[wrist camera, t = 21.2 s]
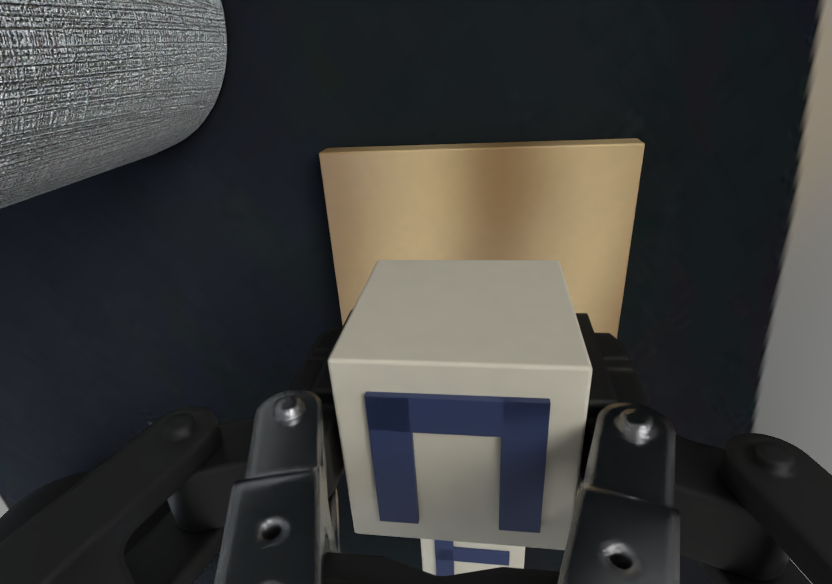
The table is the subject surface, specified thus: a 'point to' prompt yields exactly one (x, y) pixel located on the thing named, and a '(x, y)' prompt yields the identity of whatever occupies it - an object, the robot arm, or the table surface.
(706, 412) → the table surface
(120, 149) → the planter
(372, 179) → the board
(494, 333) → the tile
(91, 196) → the table surface
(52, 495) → the decorative ball
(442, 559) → the letter t cube
